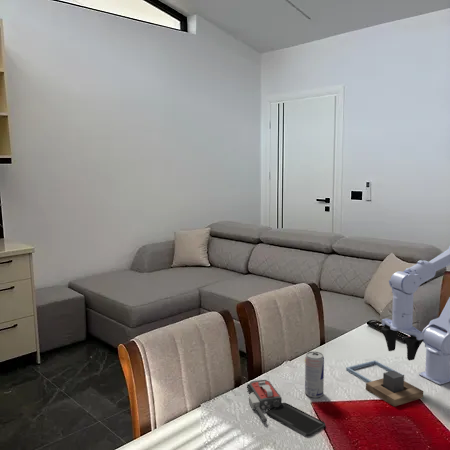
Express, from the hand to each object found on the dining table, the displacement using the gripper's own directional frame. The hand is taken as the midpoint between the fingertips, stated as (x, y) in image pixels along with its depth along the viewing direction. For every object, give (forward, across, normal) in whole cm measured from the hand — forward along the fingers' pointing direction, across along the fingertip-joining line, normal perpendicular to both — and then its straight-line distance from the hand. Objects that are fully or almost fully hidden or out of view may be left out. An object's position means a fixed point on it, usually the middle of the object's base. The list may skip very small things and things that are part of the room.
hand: (401, 354), depth 138 cm
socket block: (+9, +3, -6) cm, 12 cm away
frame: (+9, -9, -2) cm, 13 cm away
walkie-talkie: (+10, -8, -43) cm, 45 cm away
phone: (+10, +2, -40) cm, 41 cm away
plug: (+10, +3, -6) cm, 12 cm away
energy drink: (+10, -7, -27) cm, 29 cm away
